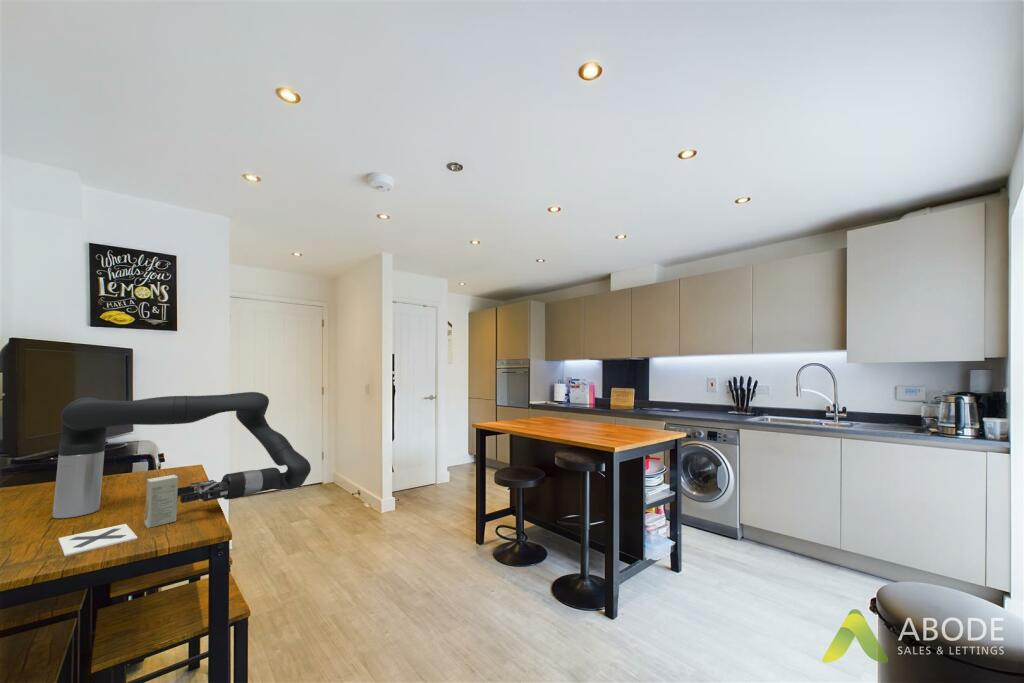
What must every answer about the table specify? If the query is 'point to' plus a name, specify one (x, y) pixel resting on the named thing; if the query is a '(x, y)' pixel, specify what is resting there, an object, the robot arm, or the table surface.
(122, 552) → the table surface
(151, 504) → the skincare box
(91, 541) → the letter card
